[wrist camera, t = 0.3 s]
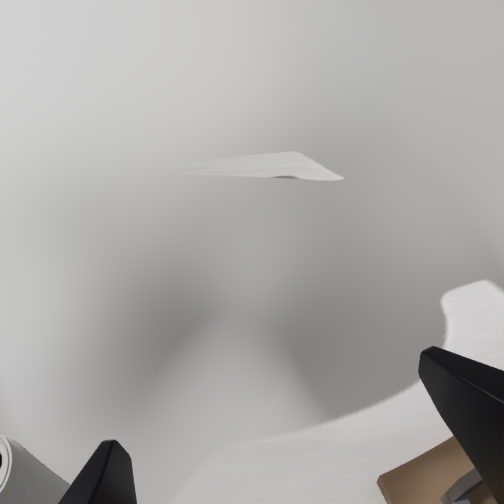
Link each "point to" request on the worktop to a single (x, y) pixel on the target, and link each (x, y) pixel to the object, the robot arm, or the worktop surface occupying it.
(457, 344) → the worktop surface
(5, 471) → the beverage can
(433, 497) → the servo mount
